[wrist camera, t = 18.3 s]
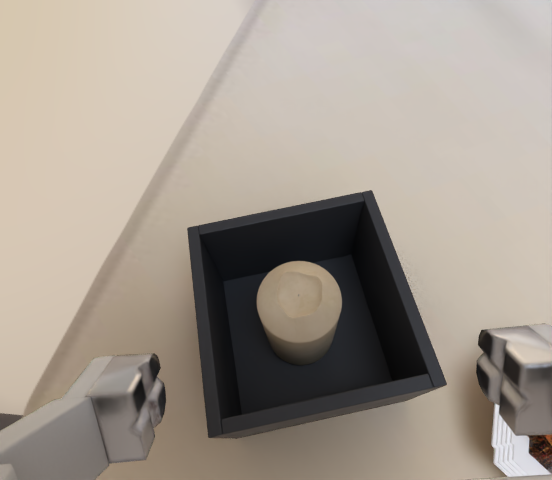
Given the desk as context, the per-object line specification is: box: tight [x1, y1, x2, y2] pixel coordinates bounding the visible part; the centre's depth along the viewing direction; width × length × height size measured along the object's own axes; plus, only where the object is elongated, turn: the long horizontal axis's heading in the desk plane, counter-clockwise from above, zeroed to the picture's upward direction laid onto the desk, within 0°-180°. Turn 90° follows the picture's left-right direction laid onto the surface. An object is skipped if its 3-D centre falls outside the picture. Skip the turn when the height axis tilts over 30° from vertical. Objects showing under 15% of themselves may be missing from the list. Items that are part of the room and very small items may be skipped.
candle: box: [257, 261, 342, 365], centre depth 28 cm, size 6×6×10 cm
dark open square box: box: [187, 190, 447, 439], centre depth 29 cm, size 14×14×10 cm
